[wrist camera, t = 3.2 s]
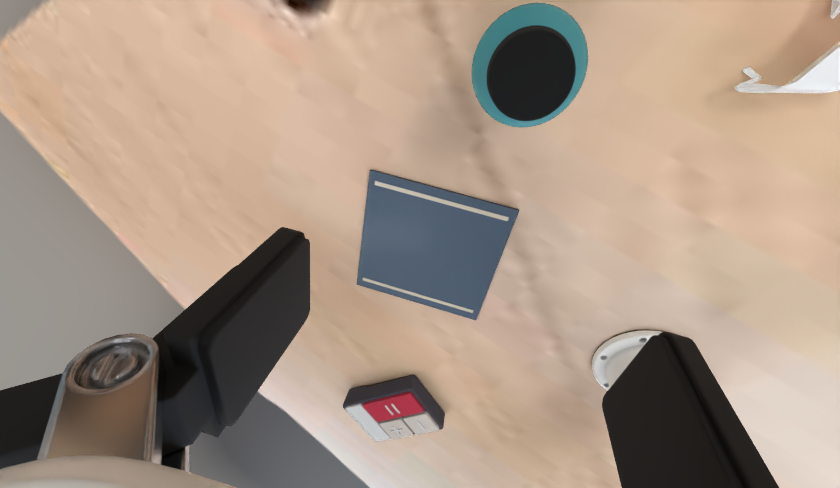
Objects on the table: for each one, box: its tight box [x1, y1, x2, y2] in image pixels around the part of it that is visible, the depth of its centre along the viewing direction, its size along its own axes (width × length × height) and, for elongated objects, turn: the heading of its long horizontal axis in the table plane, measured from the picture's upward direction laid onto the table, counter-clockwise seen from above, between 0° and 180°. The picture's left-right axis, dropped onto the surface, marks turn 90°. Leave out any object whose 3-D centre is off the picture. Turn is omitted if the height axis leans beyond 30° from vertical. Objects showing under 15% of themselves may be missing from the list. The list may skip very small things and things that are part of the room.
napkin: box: [357, 170, 519, 320], centre depth 46 cm, size 18×18×1 cm
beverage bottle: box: [472, 3, 588, 127], centre depth 24 cm, size 6×7×20 cm
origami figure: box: [735, 0, 840, 93], centre depth 26 cm, size 12×8×5 cm
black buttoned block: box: [343, 375, 445, 442], centre depth 63 cm, size 11×4×15 cm
